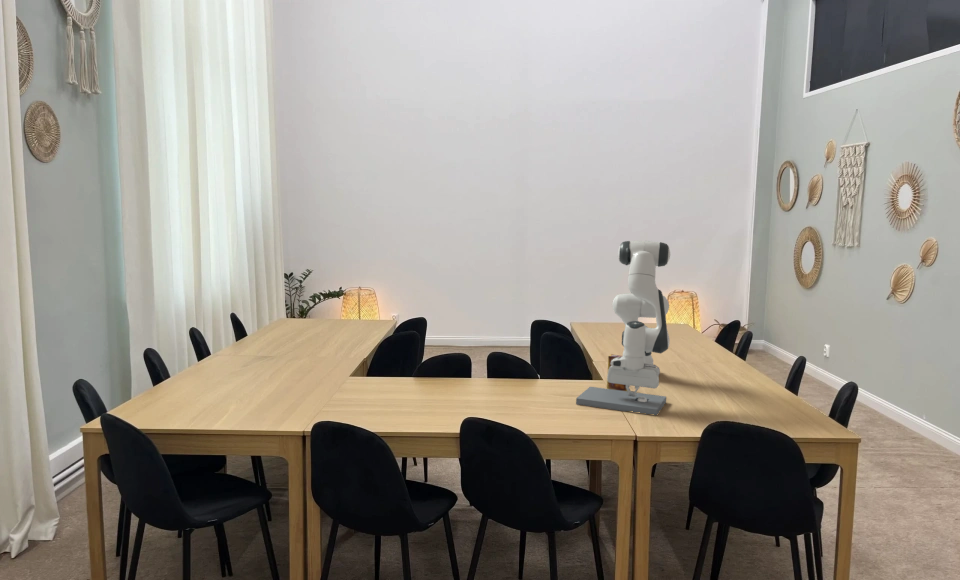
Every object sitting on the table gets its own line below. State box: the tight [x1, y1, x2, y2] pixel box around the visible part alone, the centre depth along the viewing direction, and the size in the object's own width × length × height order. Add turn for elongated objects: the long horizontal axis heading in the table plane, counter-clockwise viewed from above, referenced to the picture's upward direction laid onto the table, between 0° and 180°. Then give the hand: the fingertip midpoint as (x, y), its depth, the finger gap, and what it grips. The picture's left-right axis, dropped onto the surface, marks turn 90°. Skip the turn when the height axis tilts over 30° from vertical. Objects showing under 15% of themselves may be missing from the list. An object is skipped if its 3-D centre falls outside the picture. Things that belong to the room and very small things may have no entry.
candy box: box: [606, 353, 627, 391], centre depth 292 cm, size 9×4×15 cm, turn 60°
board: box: [575, 386, 667, 416], centre depth 273 cm, size 20×32×2 cm, turn 65°
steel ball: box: [637, 396, 647, 402], centre depth 270 cm, size 4×4×4 cm
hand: (632, 396), depth 271 cm, fingers closed
